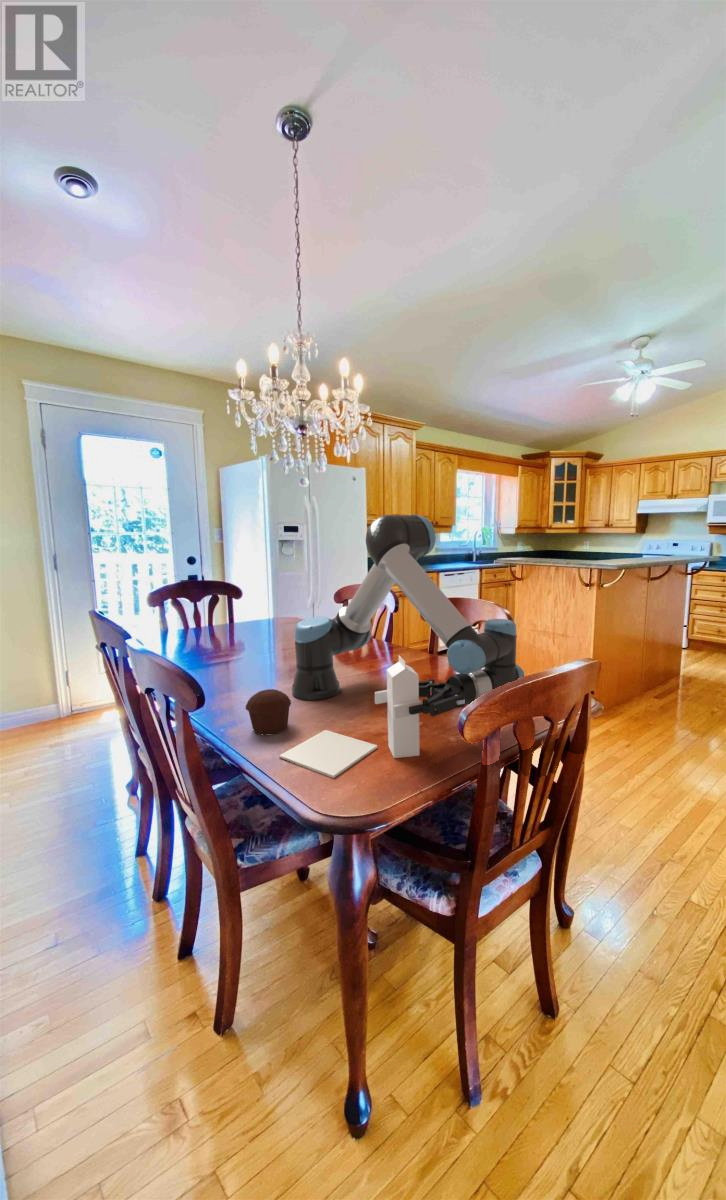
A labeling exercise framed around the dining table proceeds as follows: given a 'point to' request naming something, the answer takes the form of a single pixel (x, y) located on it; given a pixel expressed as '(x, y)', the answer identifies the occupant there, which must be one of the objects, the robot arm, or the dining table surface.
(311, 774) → the dining table surface
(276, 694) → the muffin
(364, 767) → the dining table surface
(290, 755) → the mat
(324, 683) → the robot arm
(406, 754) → the milk
